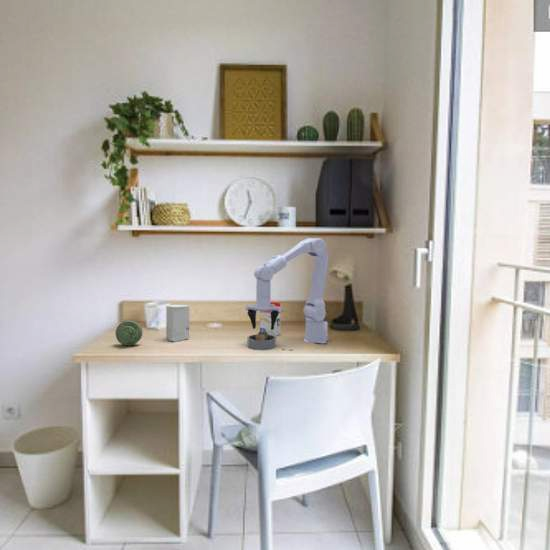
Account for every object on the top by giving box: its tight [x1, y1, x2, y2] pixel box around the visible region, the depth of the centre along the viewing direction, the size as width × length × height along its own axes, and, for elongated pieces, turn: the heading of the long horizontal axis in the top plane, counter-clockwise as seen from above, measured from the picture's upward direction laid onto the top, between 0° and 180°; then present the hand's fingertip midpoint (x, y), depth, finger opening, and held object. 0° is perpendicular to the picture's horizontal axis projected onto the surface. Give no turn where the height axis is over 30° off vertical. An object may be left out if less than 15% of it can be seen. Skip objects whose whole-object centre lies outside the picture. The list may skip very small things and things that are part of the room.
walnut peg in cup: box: [255, 333, 265, 341], centre depth 164 cm, size 4×4×5 cm
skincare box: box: [165, 304, 190, 343], centre depth 177 cm, size 8×6×15 cm
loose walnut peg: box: [258, 331, 267, 340], centre depth 169 cm, size 4×4×5 cm
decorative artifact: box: [115, 319, 143, 346], centre depth 165 cm, size 10×7×10 cm
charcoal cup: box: [246, 333, 277, 351], centre depth 167 cm, size 11×11×4 cm
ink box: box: [259, 301, 282, 337], centre depth 189 cm, size 8×5×15 cm, turn 62°
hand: (263, 328), depth 168 cm, fingers open, 7 cm apart
